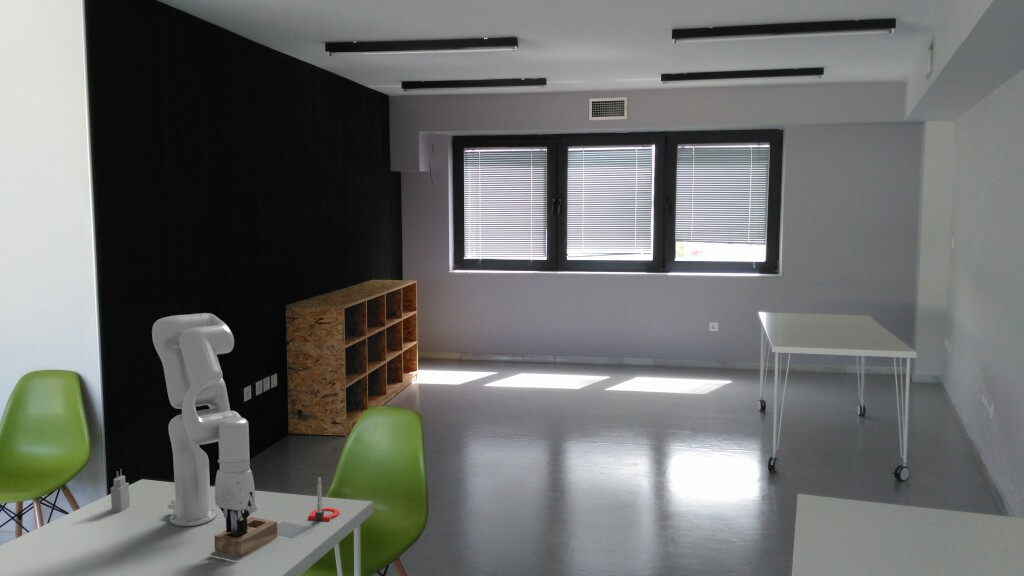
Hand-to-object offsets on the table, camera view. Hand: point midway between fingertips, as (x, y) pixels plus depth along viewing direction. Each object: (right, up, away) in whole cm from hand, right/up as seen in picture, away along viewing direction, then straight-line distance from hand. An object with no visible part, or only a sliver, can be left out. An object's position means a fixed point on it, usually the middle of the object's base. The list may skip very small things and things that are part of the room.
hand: (236, 531), depth 208 cm
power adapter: (-45, -2, +29) cm, 54 cm away
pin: (0, -3, 0) cm, 3 cm away
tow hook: (+18, -3, +24) cm, 30 cm away
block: (+1, -5, +4) cm, 6 cm away
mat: (+10, -4, +13) cm, 17 cm away
